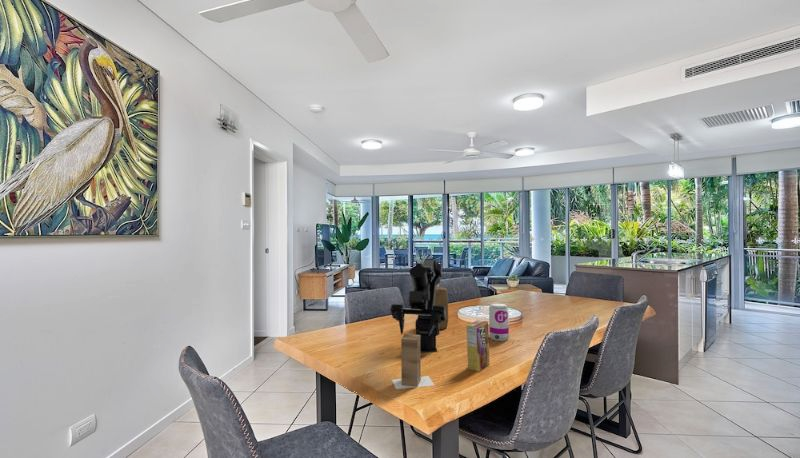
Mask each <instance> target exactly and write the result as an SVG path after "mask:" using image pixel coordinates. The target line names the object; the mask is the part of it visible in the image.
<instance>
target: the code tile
mask: <svg viewBox="0 0 800 458" xmlns="http://www.w3.org/2000/svg"><path fill="white" fill-rule="evenodd" d="M391 381H392V384H393V385H394V389H396V390H401V389H409V388H410V389H411V388H412V389H413V388H421V387H432V386H433V387H434V386H435V383H434V382H433V380H432V379H431V378H430V376H428V375H425V376H424V375H423V376H421V380H420V382H419V385H418V387H417V386H406V385H402V378H395V379H394V378H393V379H391Z"/></svg>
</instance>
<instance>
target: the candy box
mask: <svg viewBox="0 0 800 458" xmlns="http://www.w3.org/2000/svg"><path fill="white" fill-rule="evenodd" d="M489 338H490V336H489V320H488V321H487V320H482V319H481V320H480V319H478V320H475V321H474V322H470V323H469V324H468V323H467V324H466V347H467V348H466V350H467V351H466V352H467V353H466V354H467V369H468V370H471V371H475V372H478V373H479V372H480V371H482V370H483V369H485V368H486V367H488V366H489V365H491V364H490V363H491V362H490V342H489Z"/></svg>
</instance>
